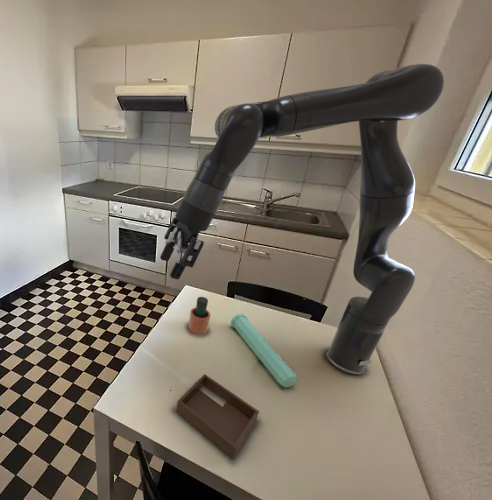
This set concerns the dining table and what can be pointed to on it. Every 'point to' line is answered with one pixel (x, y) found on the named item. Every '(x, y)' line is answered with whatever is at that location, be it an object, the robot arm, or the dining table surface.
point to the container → (264, 351)
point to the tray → (218, 415)
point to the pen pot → (198, 322)
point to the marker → (201, 307)
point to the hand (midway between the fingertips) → (168, 268)
